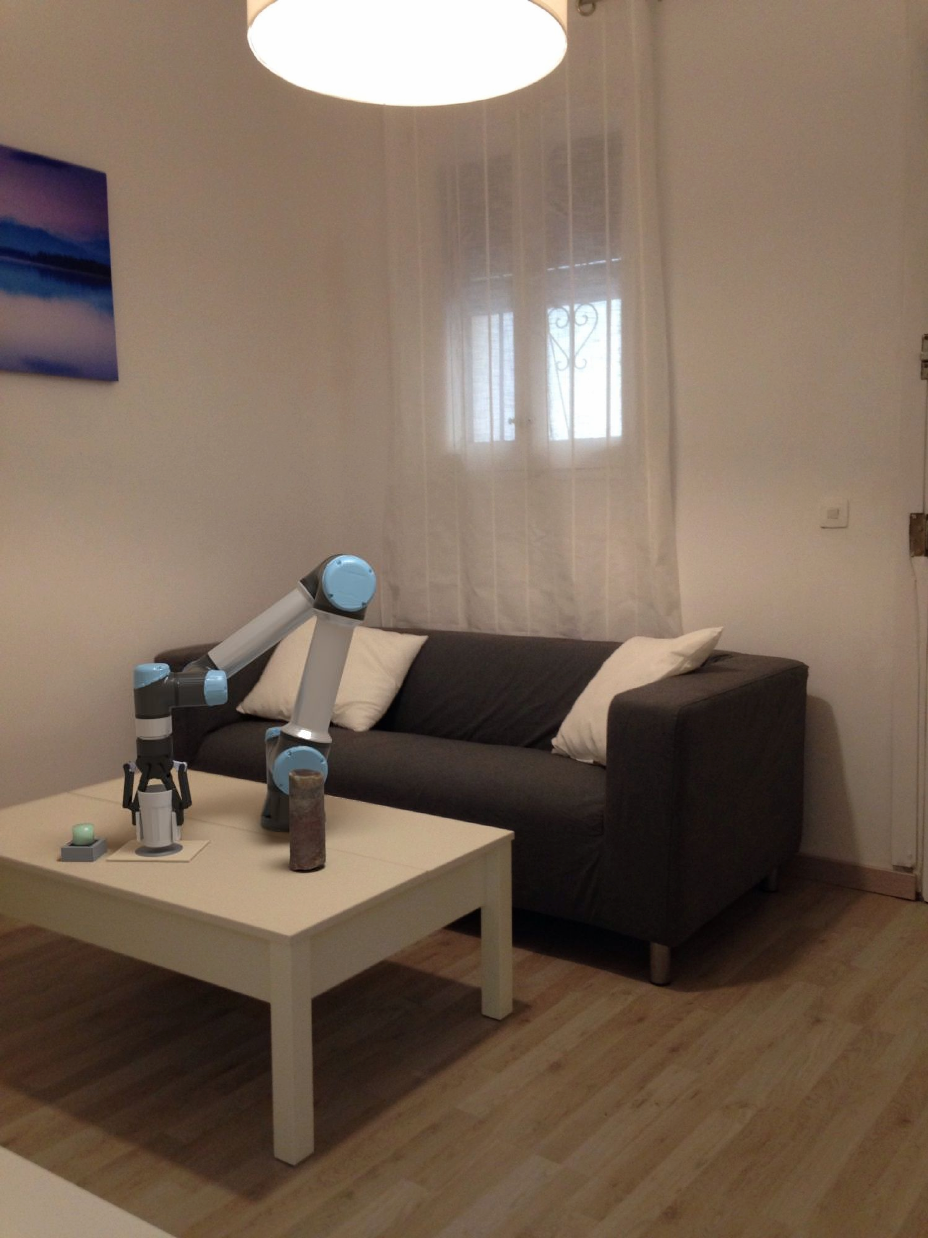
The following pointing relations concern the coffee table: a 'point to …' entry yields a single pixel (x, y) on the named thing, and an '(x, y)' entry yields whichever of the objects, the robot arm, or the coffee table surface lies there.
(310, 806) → the brown tall cylinder
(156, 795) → the cup
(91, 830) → the button
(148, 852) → the sheet
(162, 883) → the coffee table surface
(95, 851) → the button housing
